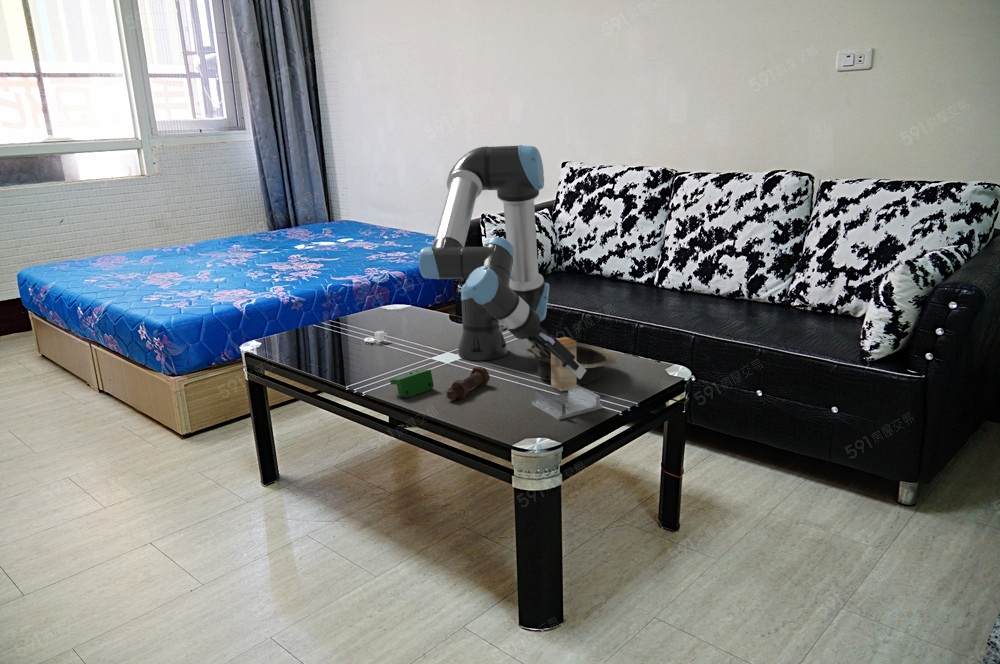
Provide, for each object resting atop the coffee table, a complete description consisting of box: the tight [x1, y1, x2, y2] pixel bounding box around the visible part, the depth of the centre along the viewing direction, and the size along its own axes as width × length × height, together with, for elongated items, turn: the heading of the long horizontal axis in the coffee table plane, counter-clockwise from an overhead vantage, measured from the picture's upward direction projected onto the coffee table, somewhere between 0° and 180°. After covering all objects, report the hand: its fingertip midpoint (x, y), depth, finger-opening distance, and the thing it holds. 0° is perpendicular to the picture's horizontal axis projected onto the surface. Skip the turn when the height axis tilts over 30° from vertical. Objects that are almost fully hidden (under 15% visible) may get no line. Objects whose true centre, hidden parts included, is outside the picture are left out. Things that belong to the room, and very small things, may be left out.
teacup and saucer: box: [363, 330, 388, 343], centre depth 248 cm, size 9×8×4 cm
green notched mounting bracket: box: [389, 369, 435, 398], centre depth 202 cm, size 11×6×8 cm, turn 128°
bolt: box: [445, 366, 491, 401], centre depth 200 cm, size 6×5×15 cm
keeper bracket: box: [531, 385, 603, 421], centre depth 188 cm, size 12×13×4 cm
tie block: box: [550, 336, 577, 392], centre depth 184 cm, size 4×4×12 cm
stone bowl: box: [525, 342, 618, 386], centre depth 209 cm, size 25×25×9 cm
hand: (576, 371), depth 187 cm, fingers closed on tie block, 4 cm apart
